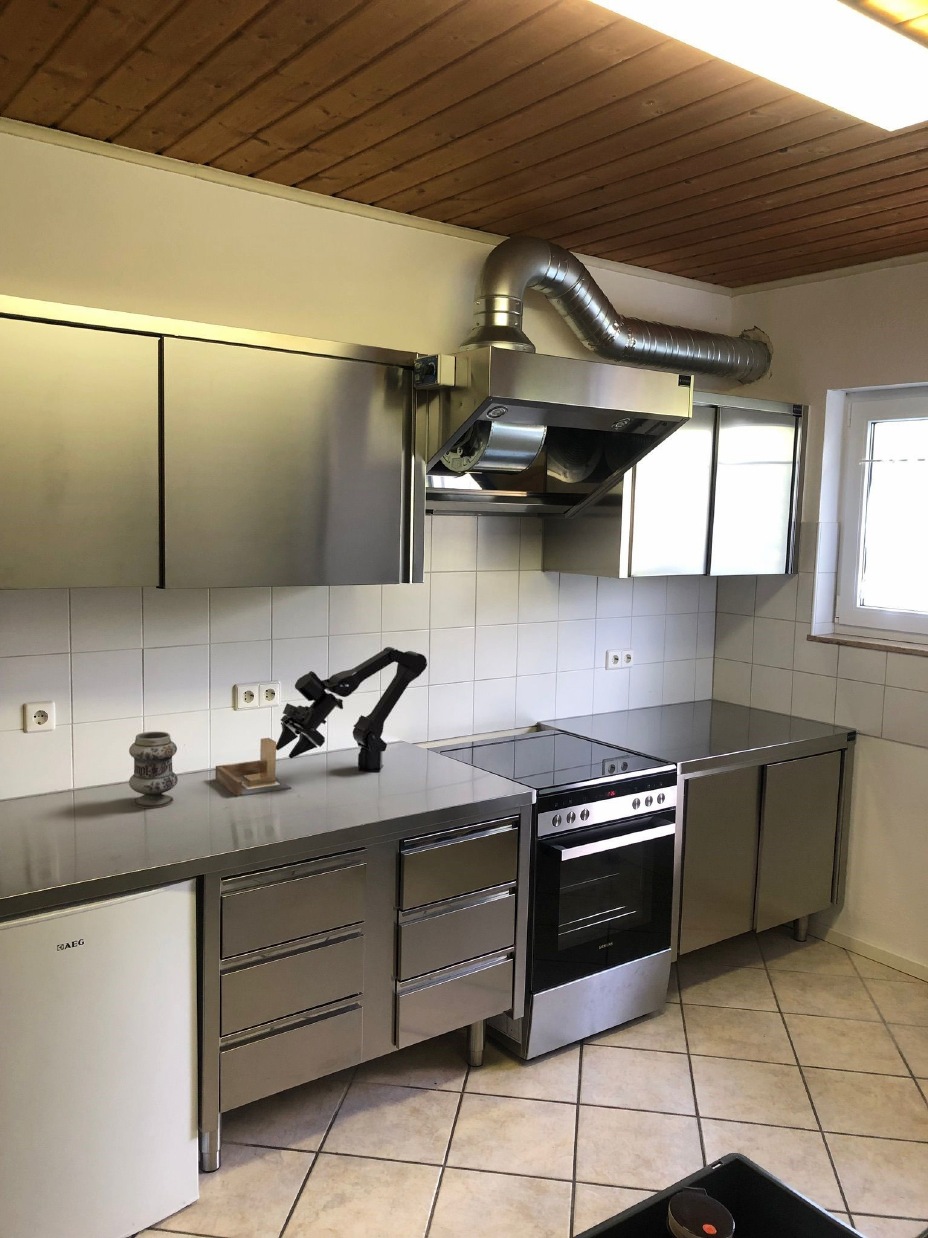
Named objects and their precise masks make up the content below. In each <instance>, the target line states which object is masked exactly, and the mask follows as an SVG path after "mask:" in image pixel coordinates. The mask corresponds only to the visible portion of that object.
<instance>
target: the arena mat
mask: <svg viewBox="0 0 928 1238" xmlns="http://www.w3.org/2000/svg"><path fill="white" fill-rule="evenodd" d="M237 778H238V779H239V780H241V781H242V796H241V797H244V796H251V795H257V794H264V793H272V792H278V791H283V790H291V789H292V787H291V786H290V785H289V784H287V783H286V782H284V781H282V780H281V779H279V778H277V777H276V780H275V784H271V785H264V786H257V787H248V786H247V785H246V784H244V783H243V776H241V777H237Z"/></svg>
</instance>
